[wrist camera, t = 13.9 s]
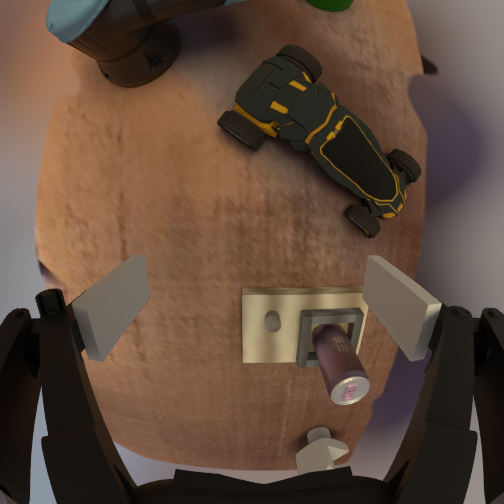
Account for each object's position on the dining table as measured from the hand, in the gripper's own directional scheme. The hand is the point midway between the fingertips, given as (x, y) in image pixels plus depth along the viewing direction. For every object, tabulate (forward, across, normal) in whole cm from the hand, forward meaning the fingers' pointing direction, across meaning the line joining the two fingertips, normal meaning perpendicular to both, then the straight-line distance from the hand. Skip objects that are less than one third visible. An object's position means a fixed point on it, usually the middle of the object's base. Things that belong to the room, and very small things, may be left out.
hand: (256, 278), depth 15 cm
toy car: (+29, +12, +11) cm, 33 cm away
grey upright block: (+29, +17, -56) cm, 65 cm away
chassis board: (+29, +9, -20) cm, 36 cm away
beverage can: (+26, +13, -21) cm, 36 cm away
